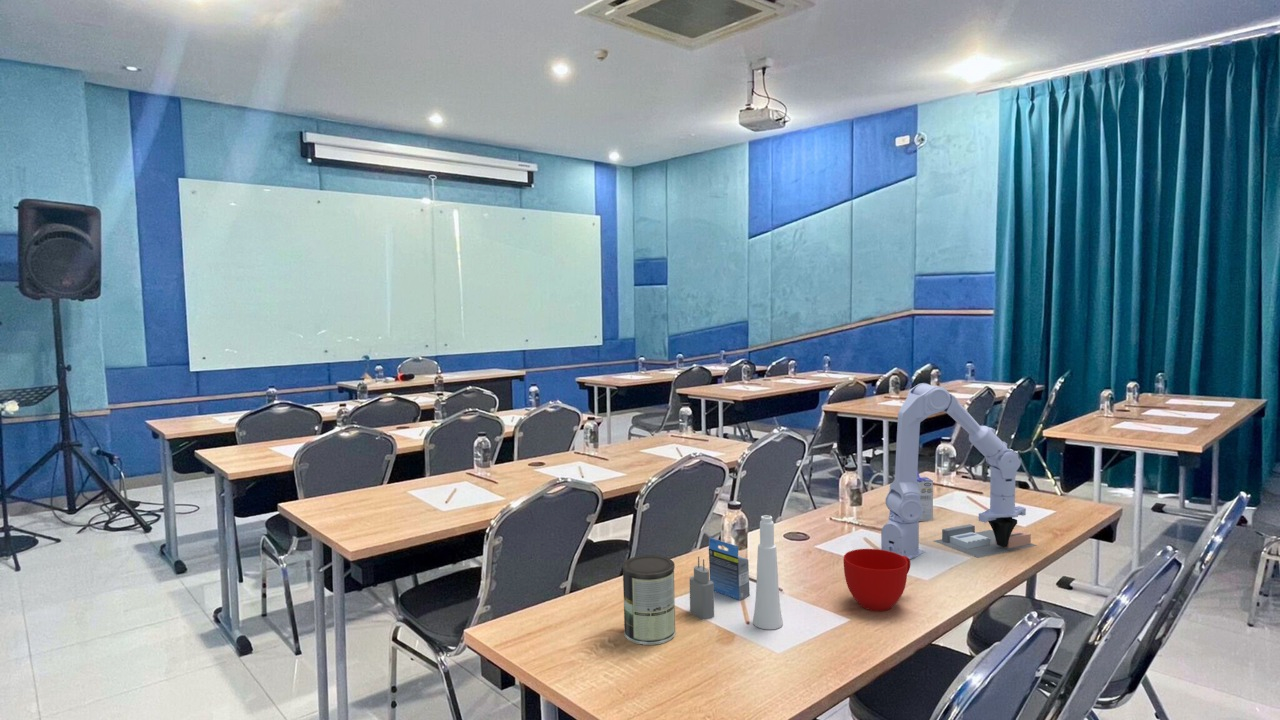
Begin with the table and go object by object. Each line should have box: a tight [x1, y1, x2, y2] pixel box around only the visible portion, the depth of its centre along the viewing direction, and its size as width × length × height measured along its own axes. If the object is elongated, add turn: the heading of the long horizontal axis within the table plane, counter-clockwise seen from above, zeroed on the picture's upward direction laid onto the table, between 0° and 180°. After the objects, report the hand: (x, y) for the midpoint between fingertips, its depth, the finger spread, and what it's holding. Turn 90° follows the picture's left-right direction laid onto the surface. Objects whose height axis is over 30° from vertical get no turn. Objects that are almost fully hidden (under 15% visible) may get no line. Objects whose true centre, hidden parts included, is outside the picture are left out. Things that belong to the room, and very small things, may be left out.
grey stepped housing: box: [941, 524, 990, 549], centre depth 186 cm, size 10×8×3 cm
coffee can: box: [621, 554, 676, 646], centre depth 138 cm, size 10×10×14 cm
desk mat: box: [933, 529, 1038, 559], centre depth 186 cm, size 21×14×1 cm
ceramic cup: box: [843, 548, 911, 612], centre depth 151 cm, size 13×17×10 cm
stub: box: [995, 529, 1032, 548], centre depth 184 cm, size 8×4×3 cm, turn 113°
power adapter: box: [689, 556, 715, 621], centre depth 147 cm, size 3×5×12 cm, turn 30°
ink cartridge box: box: [917, 469, 934, 522], centre depth 208 cm, size 10×6×14 cm, turn 89°
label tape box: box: [708, 536, 751, 601], centre depth 157 cm, size 9×4×12 cm, turn 43°
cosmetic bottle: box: [752, 514, 784, 630], centre depth 141 cm, size 6×6×22 cm
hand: (1001, 545), depth 182 cm, fingers closed
